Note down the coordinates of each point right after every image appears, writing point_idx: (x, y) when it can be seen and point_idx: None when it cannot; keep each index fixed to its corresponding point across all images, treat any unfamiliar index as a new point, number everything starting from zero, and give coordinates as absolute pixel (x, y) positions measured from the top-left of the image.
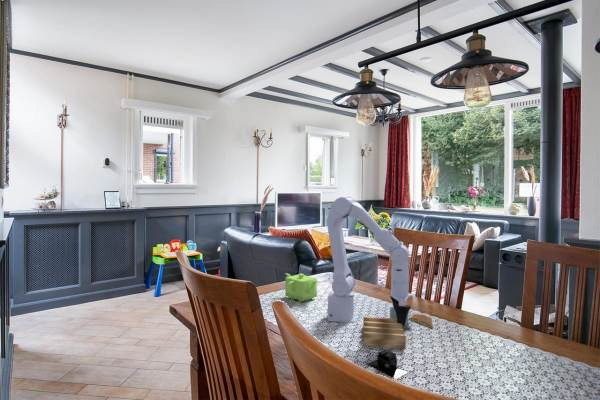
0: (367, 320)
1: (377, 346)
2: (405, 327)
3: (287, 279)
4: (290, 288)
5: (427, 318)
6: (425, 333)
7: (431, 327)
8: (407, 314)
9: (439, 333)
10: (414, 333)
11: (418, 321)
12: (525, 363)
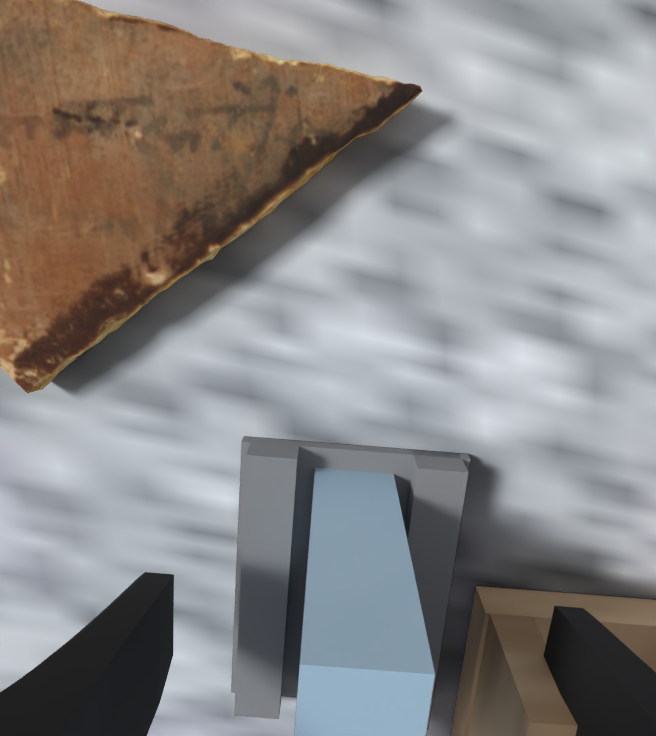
0: None
1: None
2: (458, 534)
3: None
4: None
5: (5, 73)
6: (572, 264)
7: (385, 106)
8: (416, 616)
9: (574, 21)
10: (571, 423)
11: (170, 280)
12: None
